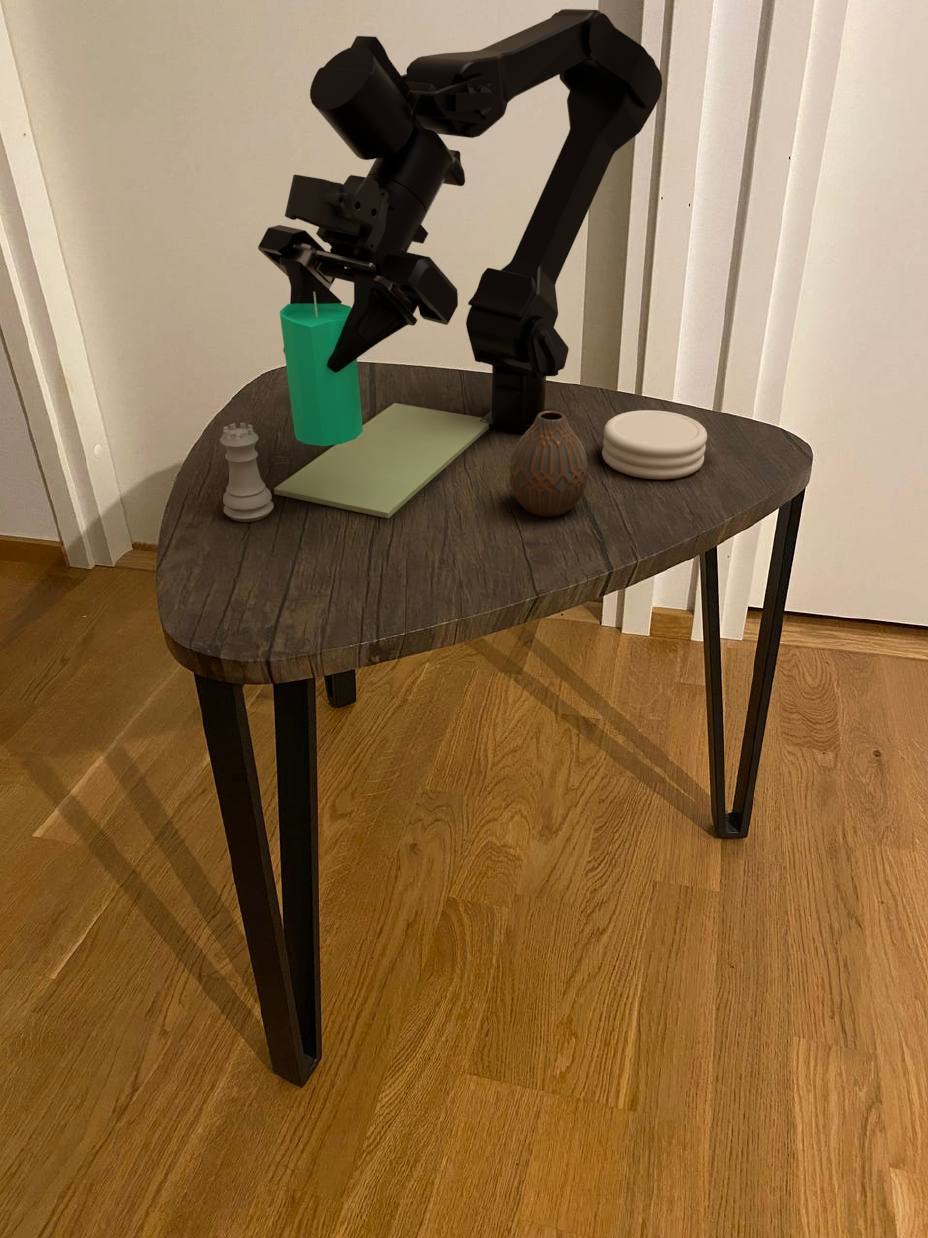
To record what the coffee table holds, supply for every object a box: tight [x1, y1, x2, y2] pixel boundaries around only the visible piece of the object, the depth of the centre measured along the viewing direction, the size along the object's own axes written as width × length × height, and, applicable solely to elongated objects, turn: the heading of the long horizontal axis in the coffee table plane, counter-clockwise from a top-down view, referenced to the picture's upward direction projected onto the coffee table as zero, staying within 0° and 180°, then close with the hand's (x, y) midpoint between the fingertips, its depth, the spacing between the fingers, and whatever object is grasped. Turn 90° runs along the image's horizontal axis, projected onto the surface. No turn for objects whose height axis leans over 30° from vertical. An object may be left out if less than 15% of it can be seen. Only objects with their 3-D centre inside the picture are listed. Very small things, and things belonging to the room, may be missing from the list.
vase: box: [509, 410, 589, 518], centre depth 87 cm, size 7×7×9 cm
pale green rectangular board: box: [273, 402, 492, 519], centre depth 98 cm, size 24×12×1 cm, turn 156°
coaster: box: [601, 409, 708, 481], centre depth 97 cm, size 10×10×4 cm
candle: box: [279, 292, 363, 447], centre depth 82 cm, size 6×6×12 cm
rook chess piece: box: [219, 422, 275, 523], centre depth 86 cm, size 4×4×8 cm
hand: (309, 362), depth 81 cm, fingers closed on candle, 5 cm apart
